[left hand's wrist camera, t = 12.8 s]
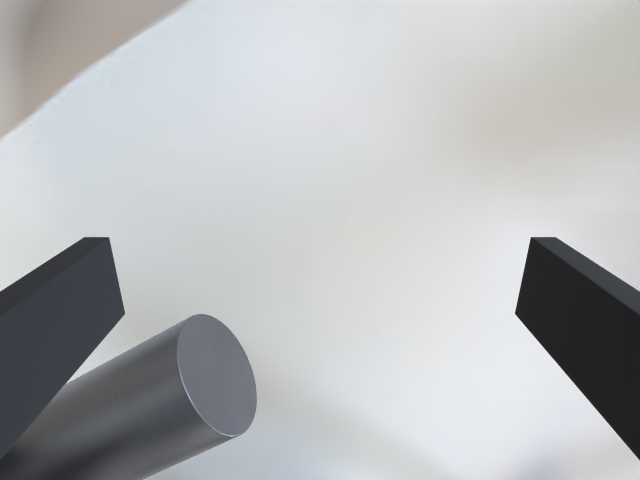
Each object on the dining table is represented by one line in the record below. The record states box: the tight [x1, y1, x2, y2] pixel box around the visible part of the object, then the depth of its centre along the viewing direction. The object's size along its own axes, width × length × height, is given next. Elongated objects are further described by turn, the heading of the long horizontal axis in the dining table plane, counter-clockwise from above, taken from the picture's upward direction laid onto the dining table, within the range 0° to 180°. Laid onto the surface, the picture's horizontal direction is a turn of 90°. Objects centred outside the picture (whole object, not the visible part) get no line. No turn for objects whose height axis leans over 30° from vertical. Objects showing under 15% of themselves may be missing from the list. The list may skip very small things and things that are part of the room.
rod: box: [0, 314, 257, 480], centre depth 30 cm, size 25×9×9 cm, turn 120°
